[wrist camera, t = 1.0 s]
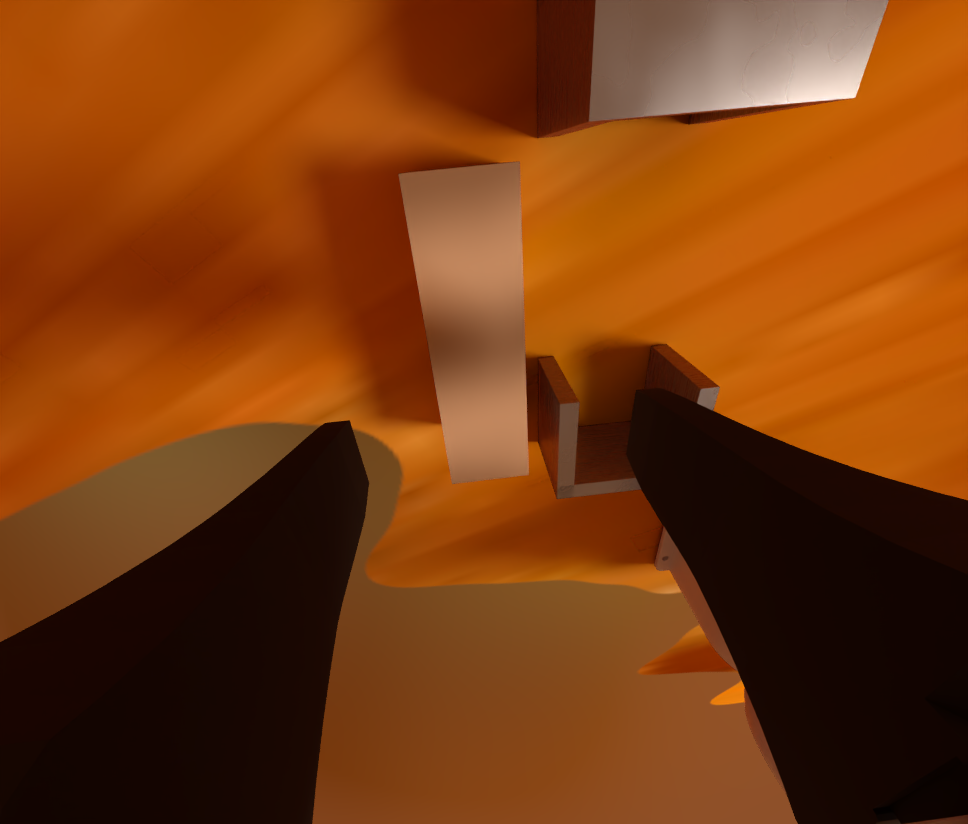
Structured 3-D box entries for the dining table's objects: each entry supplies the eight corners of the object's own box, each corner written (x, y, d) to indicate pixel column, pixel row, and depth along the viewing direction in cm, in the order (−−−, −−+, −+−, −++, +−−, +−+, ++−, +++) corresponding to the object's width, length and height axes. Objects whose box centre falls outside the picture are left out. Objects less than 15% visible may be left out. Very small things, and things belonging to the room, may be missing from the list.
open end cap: (650, 429, 23) (692, 483, 19) (538, 442, 23) (556, 498, 19) (666, 344, 20) (719, 386, 16) (537, 357, 20) (560, 404, 16)
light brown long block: (512, 415, 22) (528, 474, 18) (451, 422, 22) (452, 484, 18) (499, 163, 15) (519, 161, 11) (411, 171, 15) (398, 174, 11)
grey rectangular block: (708, 122, 15) (855, 97, 10) (537, 138, 15) (588, 121, 9) (738, -36, 13) (951, -184, 7) (536, -20, 13) (604, -160, 7)
